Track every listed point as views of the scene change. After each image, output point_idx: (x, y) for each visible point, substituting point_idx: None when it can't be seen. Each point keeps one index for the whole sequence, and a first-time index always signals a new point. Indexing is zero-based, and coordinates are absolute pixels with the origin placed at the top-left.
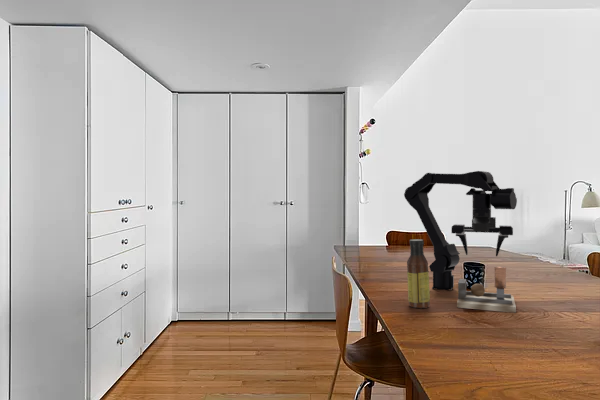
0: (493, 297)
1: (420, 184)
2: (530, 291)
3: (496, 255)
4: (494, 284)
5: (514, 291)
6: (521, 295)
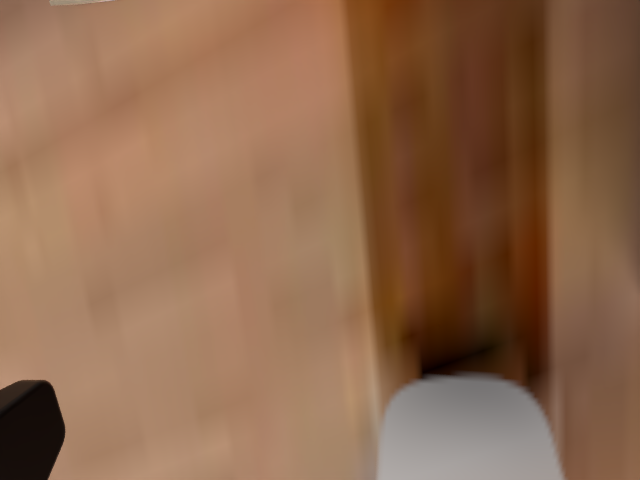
0: None
1: None
2: None
3: (27, 386)
4: None
5: (142, 392)
6: (65, 263)
